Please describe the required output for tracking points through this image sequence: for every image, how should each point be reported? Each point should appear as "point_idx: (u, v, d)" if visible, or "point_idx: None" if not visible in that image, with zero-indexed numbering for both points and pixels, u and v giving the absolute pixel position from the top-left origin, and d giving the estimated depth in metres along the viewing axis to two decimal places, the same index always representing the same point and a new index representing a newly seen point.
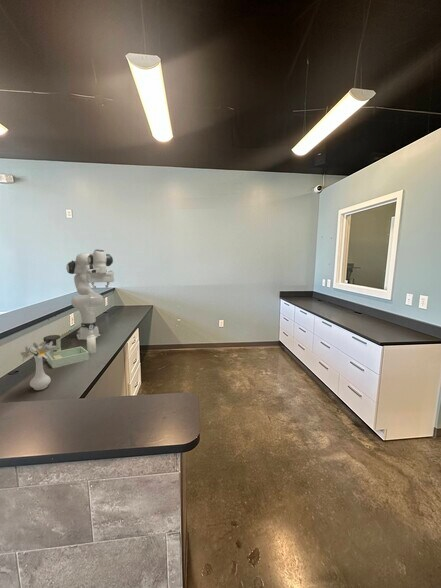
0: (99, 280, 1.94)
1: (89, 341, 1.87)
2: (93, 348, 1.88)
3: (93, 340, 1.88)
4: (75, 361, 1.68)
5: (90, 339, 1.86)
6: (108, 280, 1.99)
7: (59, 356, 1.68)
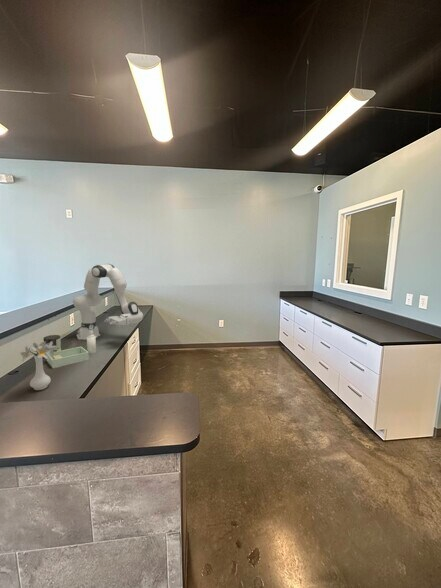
0: None
1: (89, 341, 1.87)
2: (93, 348, 1.88)
3: (93, 340, 1.88)
4: (75, 361, 1.68)
5: (90, 339, 1.86)
6: None
7: (59, 356, 1.68)
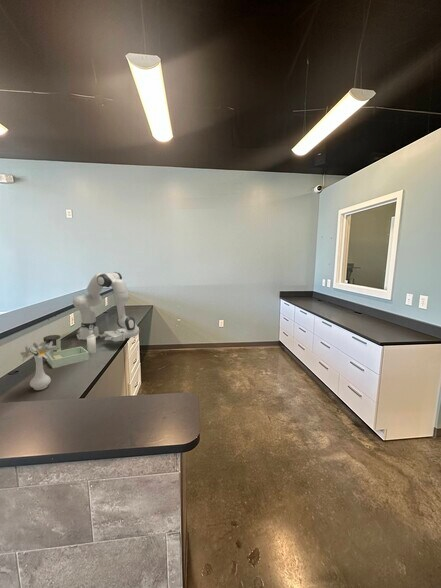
0: None
1: (89, 341, 1.87)
2: (93, 348, 1.88)
3: (93, 340, 1.88)
4: (75, 361, 1.68)
5: (90, 339, 1.86)
6: None
7: (59, 356, 1.68)
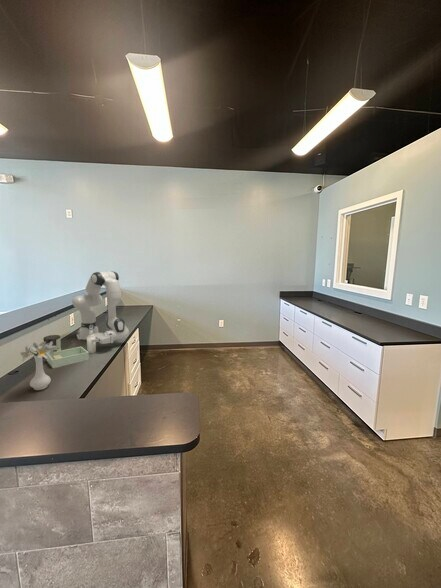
0: None
1: (89, 341, 1.87)
2: (93, 348, 1.88)
3: None
4: (75, 361, 1.68)
5: (90, 339, 1.86)
6: None
7: (59, 356, 1.68)
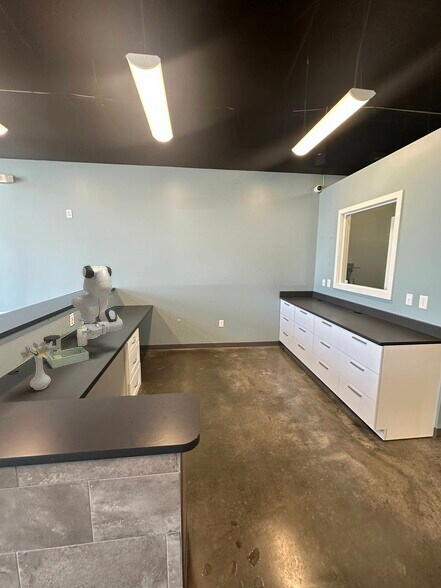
0: None
1: (80, 333, 1.74)
2: (84, 340, 1.76)
3: None
4: (75, 361, 1.68)
5: (81, 331, 1.73)
6: None
7: (59, 356, 1.68)
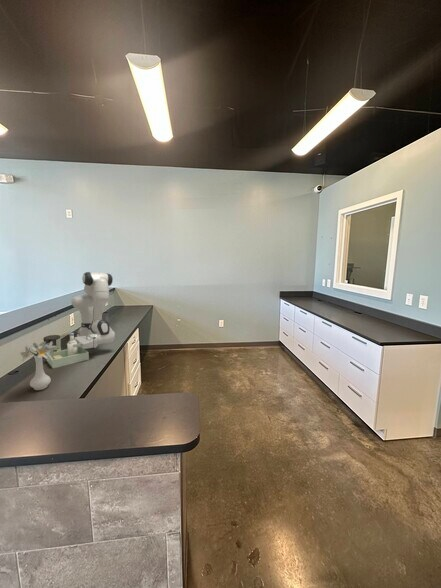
0: None
1: (70, 347, 1.70)
2: None
3: None
4: (75, 361, 1.68)
5: (71, 345, 1.70)
6: None
7: (59, 356, 1.68)
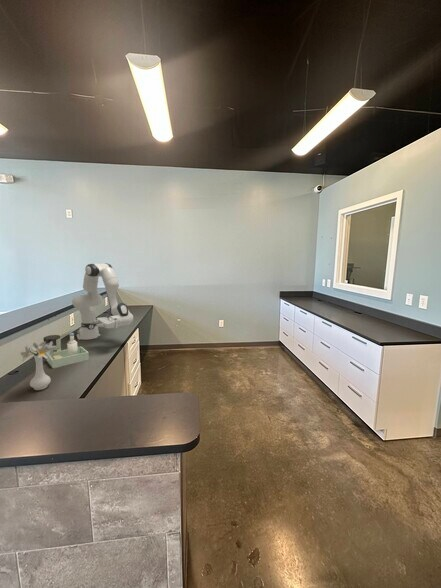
0: None
1: (70, 348, 1.70)
2: None
3: (74, 346, 1.72)
4: (75, 361, 1.68)
5: (71, 345, 1.70)
6: None
7: (59, 356, 1.68)
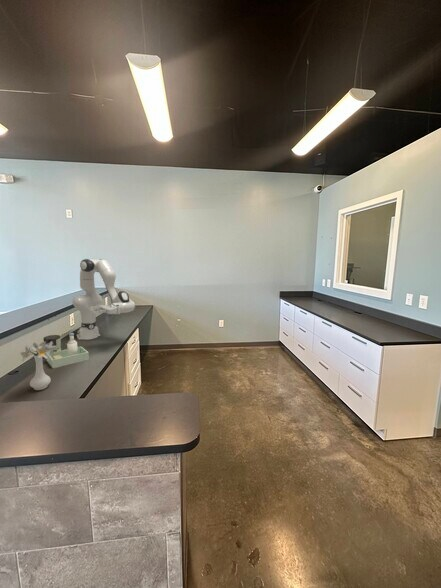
0: None
1: (69, 348, 1.70)
2: None
3: (74, 346, 1.71)
4: (75, 361, 1.68)
5: (71, 345, 1.70)
6: None
7: (59, 356, 1.68)
